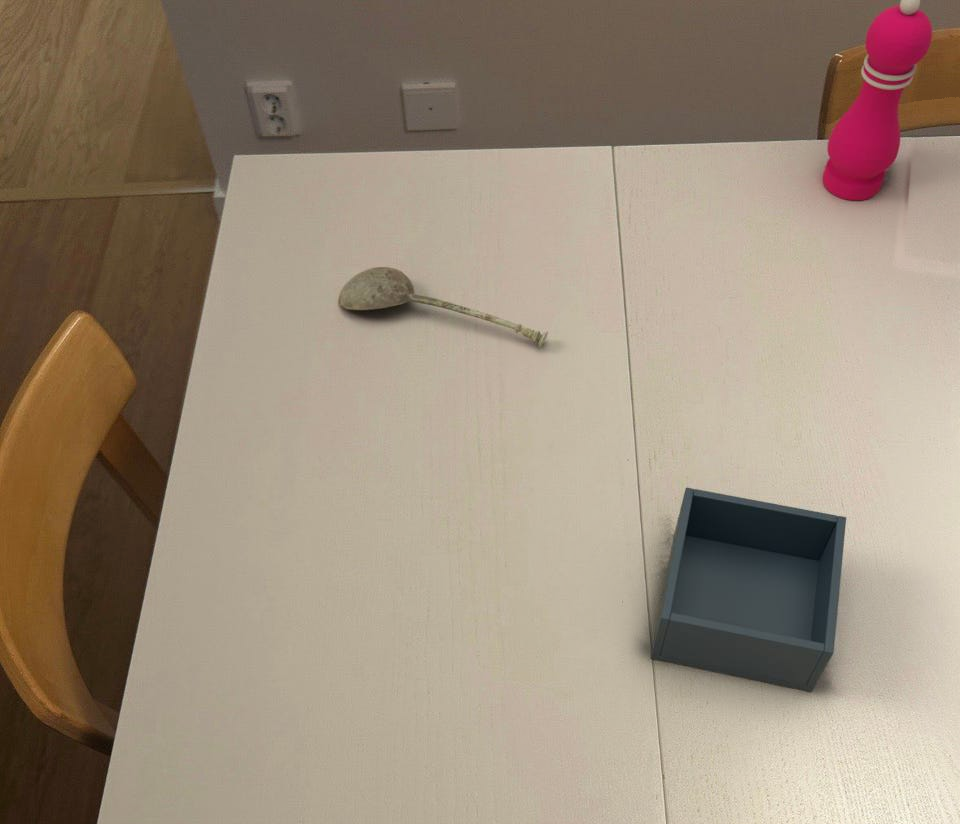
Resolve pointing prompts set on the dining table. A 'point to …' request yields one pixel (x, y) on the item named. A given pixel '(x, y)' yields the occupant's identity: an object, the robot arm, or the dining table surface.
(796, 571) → the box
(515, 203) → the dining table surface
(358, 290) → the soupspoon
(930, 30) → the pepper mill
